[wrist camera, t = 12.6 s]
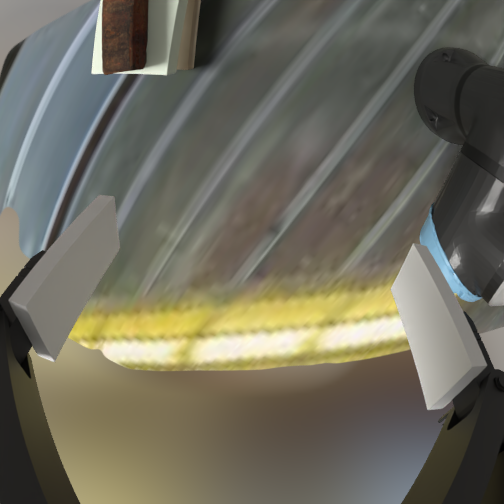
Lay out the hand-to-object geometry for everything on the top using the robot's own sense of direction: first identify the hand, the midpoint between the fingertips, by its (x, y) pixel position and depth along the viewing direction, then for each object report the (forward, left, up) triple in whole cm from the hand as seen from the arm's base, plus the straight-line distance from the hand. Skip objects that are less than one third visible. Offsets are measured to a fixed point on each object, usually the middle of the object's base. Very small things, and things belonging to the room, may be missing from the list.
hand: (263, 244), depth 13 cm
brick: (+16, -11, -25) cm, 32 cm away
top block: (+16, -11, -29) cm, 35 cm away
